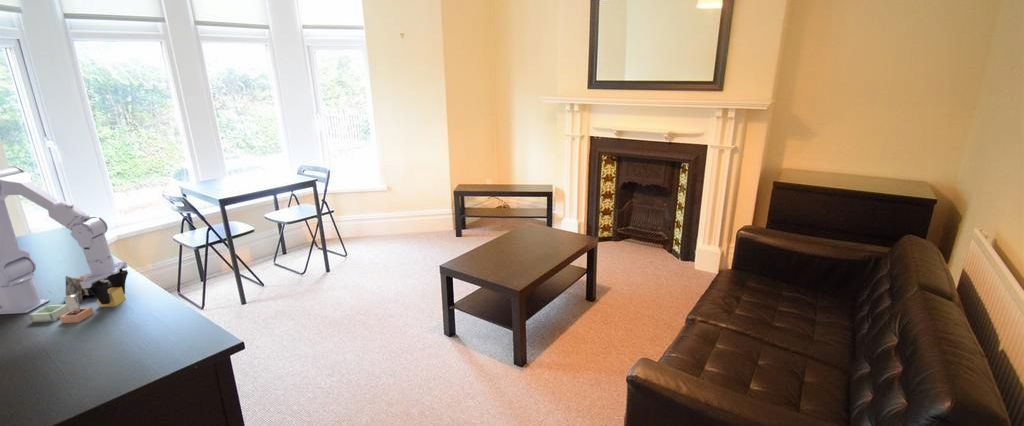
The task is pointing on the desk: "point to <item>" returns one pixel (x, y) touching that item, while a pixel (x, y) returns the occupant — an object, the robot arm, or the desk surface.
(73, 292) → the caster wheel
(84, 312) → the socket block
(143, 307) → the desk surface
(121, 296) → the chock
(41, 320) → the tray
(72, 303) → the stop pin
